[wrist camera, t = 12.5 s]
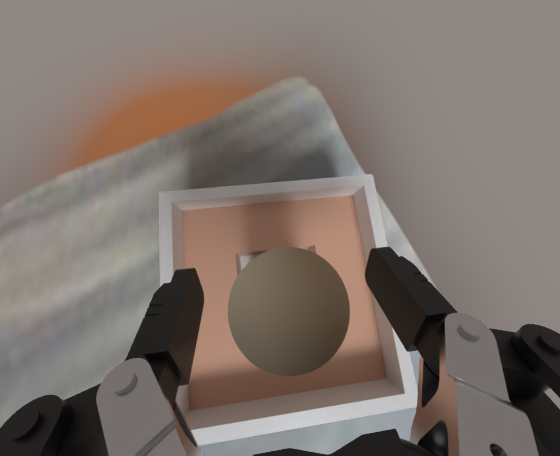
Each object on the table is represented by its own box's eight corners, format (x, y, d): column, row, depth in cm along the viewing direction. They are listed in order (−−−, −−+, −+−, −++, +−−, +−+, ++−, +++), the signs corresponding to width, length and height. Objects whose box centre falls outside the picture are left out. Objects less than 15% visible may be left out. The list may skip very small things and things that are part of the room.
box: (195, 393, 18) (161, 452, 12) (189, 214, 21) (159, 191, 15) (373, 365, 19) (420, 406, 13) (344, 200, 22) (372, 174, 16)
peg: (257, 317, 18) (233, 387, 7) (251, 268, 19) (222, 254, 8) (304, 310, 19) (361, 364, 7) (297, 262, 20) (337, 240, 8)
